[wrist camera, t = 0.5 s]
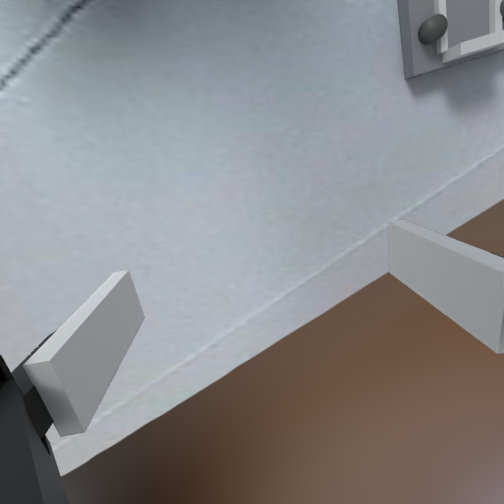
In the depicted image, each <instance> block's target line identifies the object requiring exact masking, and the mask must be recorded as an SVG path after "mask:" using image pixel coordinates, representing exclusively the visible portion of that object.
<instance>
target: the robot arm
mask: <svg viewBox="0 0 504 504" xmlns="http://www.w3.org/2000/svg"><path fill="white" fill-rule="evenodd" d="M388 230H389V273H391V274H392V275H393V276H395V277H396V278H397V279H399V280H400V281H401V282H403V283H404V284H405V285H407V286H408V287H409V288H411V289H412V290H413V291H415V292H416V293H417V294H419V295H420V296H421V297H423V298H424V299H425V300H427V301H428V302H429V303H431V304H432V305H433V306H434V307H436V308H437V309H439V310H440V311H441V312H443V313H444V314H445V315H447V316H448V317H449V318H451V319H452V320H453V321H454V322H456V323H457V324H459V325H460V326H461V327H462V328H464V329H465V330H466V331H468V332H469V333H471V334H472V335H473V336H474V337H476V338H477V339H478V340H480V341H481V342H482V343H484V344H485V345H486V346H488V347H489V348H490V349H492V350H493V351H494V352H496V353H497V354H500V353H504V257H502V256H499V255H497V254H494V253H491V252H487V251H484V250H481V249H479V248H476V247H474V246H471V245H468V244H466V243H463V242H460V241H458V240H455V239H453V238H450V237H448V236H445V235H442V234H440V233H437V232H435V231H432V230H429V229H427V228H424V227H422V226H419V225H416V224H414V223H411V222H408V221H406V220H398V221H393V222H388ZM144 318H145V317H144V314H143V311H142V308H141V305H140V302H139V299H138V296H137V293H136V290H135V287H134V284H133V281H132V278H131V275H130V272H129V270H126V271H120V272H115V273H113V274H112V275H111V276H110V277H109V278H108V279H107V280H106V281H105V282H104V283H103V284H102V285H101V286H100V287H99V288H98V289H97V290H96V291H95V292H94V293H93V294H92V295H91V296H90V297H89V298H88V299H87V300H86V301H85V302H84V303H83V304H82V305H81V306H80V307H79V308H78V309H77V310H76V311H75V312H74V314H73V315H72V316H71V317H70V318H69V319H68V320H67V321H66V322H65V323H64V324H63V325H62V326H61V327H60V328H59V329H58V330H56V331H55V332H53V333H52V334H50V335H49V336H48V337H47V338H46V339H45V340H44V341H43V342H42V343H41V344H40V345H39V347H37V348H36V349H35V350H34V351H33V352H32V353H31V355H29V356H28V357H27V358H26V359H25V360H24V361H23V362H22V363H21V364H20V365H19V366H18V367H17V368H16V369H15V370H14V371H13V372H12V373H11V372H10V370H9V368H8V367H7V365H6V363H5V361H4V359H3V358H2V356H1V355H0V504H69V501H68V498H67V495H66V492H65V489H64V486H63V482H62V479H61V476H60V473H59V470H58V467H57V464H56V461H55V457H54V454H53V451H52V448H51V445H50V442H49V441H48V439H47V437H46V435H45V434H46V432H47V431H48V429H49V428H50V426H51V425H52V423H53V424H54V426H55V427H56V429H57V431H58V433H59V435H60V437H62V436H68V435H73V434H78V433H84V432H85V431H86V429H87V427H88V426H89V424H90V422H91V420H92V418H93V416H94V414H95V412H96V410H97V408H98V406H99V404H100V403H101V401H102V399H103V397H104V395H105V393H106V391H107V389H108V387H109V385H110V383H111V381H112V380H113V378H114V376H115V374H116V372H117V370H118V368H119V366H120V364H121V362H122V360H123V359H124V357H125V355H126V353H127V351H128V349H129V347H130V345H131V343H132V341H133V339H134V337H135V336H136V334H137V332H138V330H139V328H140V326H141V324H142V322H143V320H144Z"/></svg>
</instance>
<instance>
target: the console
mask: <svg viewBox="0 0 504 504" xmlns="http://www.w3.org/2000/svg"><path fill="white" fill-rule="evenodd" d="M398 11H399V21H400V32H401V43H402V54H403V64H404V75H405V79H409V78H412V77H415V76H419V75H422V74H425V73H429V72H432V71H435V70H439V69H442V68H445V67H448V66H452V65H455V64H458V63H462V62H465V61H468V60H472V59H475V58H478V57H482V56H485V55H488V54H491V53H495V52H498V51H501V50H504V0H398Z"/></svg>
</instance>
